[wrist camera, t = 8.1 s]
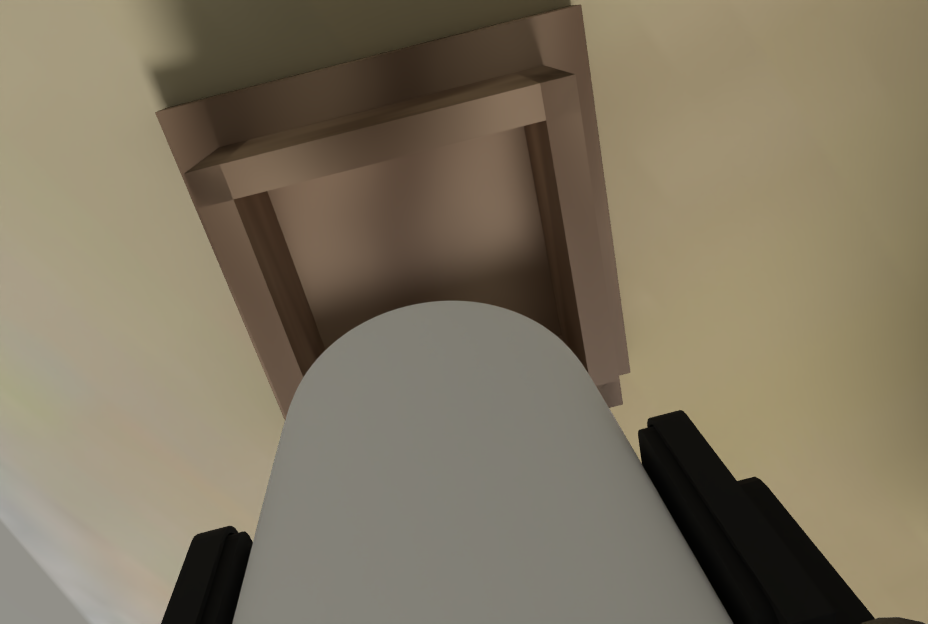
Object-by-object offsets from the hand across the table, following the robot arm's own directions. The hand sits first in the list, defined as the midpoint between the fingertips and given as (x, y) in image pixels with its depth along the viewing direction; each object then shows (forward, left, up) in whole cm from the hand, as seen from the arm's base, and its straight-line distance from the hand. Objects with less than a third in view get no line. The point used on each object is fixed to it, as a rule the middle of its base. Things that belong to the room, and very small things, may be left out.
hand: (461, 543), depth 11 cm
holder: (0, 0, -15) cm, 15 cm away
